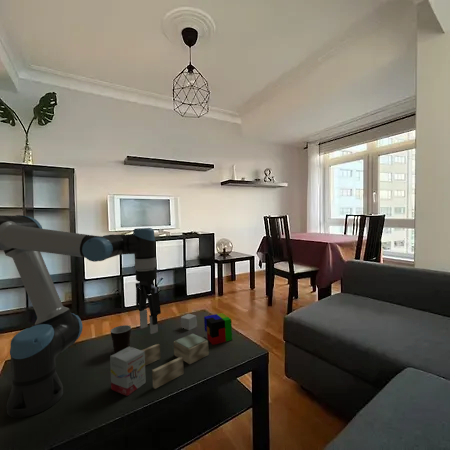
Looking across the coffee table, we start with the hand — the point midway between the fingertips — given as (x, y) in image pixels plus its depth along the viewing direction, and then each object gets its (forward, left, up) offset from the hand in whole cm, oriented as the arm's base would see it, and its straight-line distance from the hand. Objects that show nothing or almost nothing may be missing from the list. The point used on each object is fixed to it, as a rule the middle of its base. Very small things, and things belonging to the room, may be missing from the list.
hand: (148, 329), depth 101 cm
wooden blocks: (+10, 0, -17) cm, 20 cm away
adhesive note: (+37, +25, -17) cm, 48 cm away
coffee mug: (+2, +28, -17) cm, 33 cm away
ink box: (-9, 0, -17) cm, 19 cm away
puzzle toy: (+38, +3, -17) cm, 41 cm away
